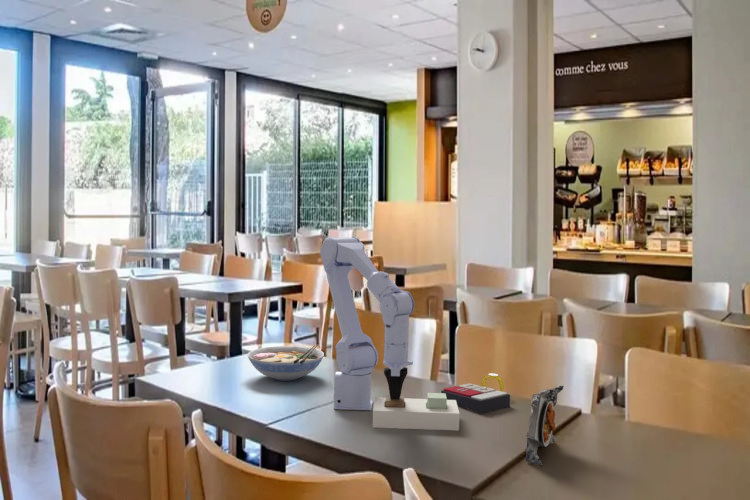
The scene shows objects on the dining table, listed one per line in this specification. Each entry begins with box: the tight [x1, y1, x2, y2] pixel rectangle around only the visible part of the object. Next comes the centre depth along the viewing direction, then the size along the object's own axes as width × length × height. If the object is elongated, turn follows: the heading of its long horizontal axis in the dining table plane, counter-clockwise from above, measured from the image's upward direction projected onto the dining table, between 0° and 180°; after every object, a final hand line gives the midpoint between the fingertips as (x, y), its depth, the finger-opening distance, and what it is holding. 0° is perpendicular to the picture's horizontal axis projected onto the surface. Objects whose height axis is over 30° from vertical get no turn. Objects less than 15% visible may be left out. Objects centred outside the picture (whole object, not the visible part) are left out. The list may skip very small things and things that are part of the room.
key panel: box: [372, 396, 460, 431], centre depth 161 cm, size 20×11×4 cm, turn 87°
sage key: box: [426, 392, 447, 409], centre depth 161 cm, size 4×4×4 cm
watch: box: [481, 372, 505, 392], centre depth 186 cm, size 6×3×6 cm, turn 53°
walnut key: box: [385, 395, 405, 408], centre depth 161 cm, size 4×4×4 cm
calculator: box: [440, 383, 511, 415], centre depth 178 cm, size 11×4×15 cm
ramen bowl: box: [246, 345, 325, 382], centre depth 200 cm, size 25×23×8 cm
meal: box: [525, 385, 564, 466], centre depth 142 cm, size 15×4×13 cm, turn 153°
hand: (395, 398), depth 161 cm, fingers closed, pressing on walnut key
